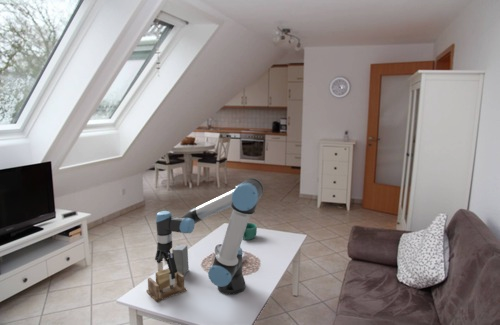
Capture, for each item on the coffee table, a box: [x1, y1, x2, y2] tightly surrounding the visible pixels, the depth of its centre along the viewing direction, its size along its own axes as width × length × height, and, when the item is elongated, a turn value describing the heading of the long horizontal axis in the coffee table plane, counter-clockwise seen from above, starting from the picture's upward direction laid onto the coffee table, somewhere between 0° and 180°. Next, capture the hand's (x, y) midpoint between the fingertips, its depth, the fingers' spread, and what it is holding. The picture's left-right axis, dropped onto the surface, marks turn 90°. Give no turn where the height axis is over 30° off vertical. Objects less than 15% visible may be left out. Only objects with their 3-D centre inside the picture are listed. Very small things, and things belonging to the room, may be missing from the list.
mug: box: [243, 222, 258, 240], centre depth 248 cm, size 17×13×10 cm
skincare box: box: [171, 244, 190, 277], centre depth 198 cm, size 8×7×16 cm
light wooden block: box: [155, 267, 177, 290], centre depth 178 cm, size 4×10×8 cm, turn 131°
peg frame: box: [146, 271, 187, 303], centre depth 179 cm, size 12×17×8 cm
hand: (166, 278), depth 178 cm, fingers open, 13 cm apart
